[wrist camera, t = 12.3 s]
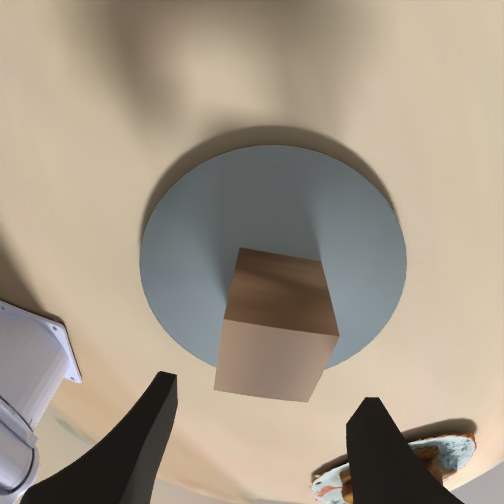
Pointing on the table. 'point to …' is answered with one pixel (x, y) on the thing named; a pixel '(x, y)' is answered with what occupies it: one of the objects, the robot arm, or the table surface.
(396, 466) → the robot arm
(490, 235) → the table surface
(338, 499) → the food on plate
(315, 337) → the walnut block
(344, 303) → the slate dish
